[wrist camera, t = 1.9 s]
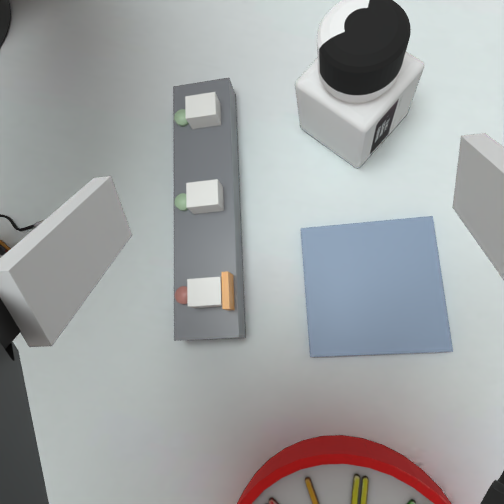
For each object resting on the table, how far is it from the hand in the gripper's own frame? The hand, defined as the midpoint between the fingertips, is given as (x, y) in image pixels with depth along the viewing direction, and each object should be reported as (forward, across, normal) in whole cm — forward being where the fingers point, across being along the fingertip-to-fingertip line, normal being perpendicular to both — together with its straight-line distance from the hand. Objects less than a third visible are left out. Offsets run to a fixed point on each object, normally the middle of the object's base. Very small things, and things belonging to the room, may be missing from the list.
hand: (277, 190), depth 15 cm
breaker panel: (+22, -9, -11) cm, 26 cm away
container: (+28, +6, -5) cm, 29 cm away
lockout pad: (+16, +6, -17) cm, 24 cm away
